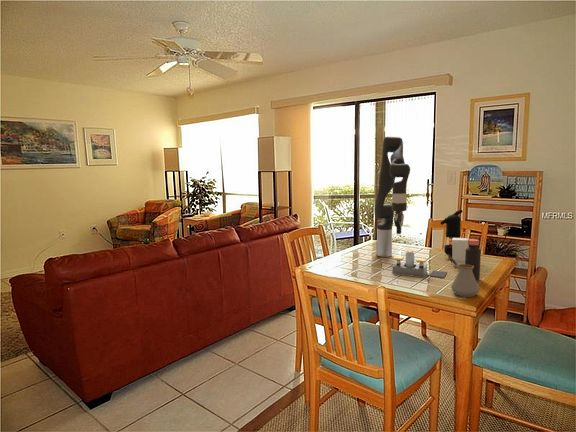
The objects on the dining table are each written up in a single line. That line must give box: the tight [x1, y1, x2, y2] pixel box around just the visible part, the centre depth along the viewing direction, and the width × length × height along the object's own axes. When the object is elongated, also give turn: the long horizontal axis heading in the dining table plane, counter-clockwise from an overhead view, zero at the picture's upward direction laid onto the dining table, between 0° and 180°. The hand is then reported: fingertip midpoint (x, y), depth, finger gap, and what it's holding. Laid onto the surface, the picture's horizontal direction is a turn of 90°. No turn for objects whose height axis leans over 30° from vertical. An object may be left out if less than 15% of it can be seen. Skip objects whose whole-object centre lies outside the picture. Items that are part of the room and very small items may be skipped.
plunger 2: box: [415, 257, 428, 268], centre depth 197 cm, size 4×4×5 cm
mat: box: [429, 270, 448, 279], centre depth 196 cm, size 7×10×1 cm
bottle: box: [465, 238, 482, 282], centre depth 186 cm, size 7×7×20 cm
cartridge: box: [405, 250, 415, 268], centre depth 200 cm, size 4×4×12 cm
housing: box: [391, 261, 428, 278], centre depth 201 cm, size 16×10×4 cm, turn 60°
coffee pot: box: [444, 253, 480, 298], centre depth 171 cm, size 21×12×15 cm, turn 7°
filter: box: [440, 209, 463, 257], centre depth 226 cm, size 14×9×30 cm
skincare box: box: [451, 237, 469, 268], centre depth 211 cm, size 8×7×16 cm
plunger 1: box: [392, 255, 405, 265], centre depth 203 cm, size 4×4×5 cm
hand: (398, 233), depth 201 cm, fingers closed
